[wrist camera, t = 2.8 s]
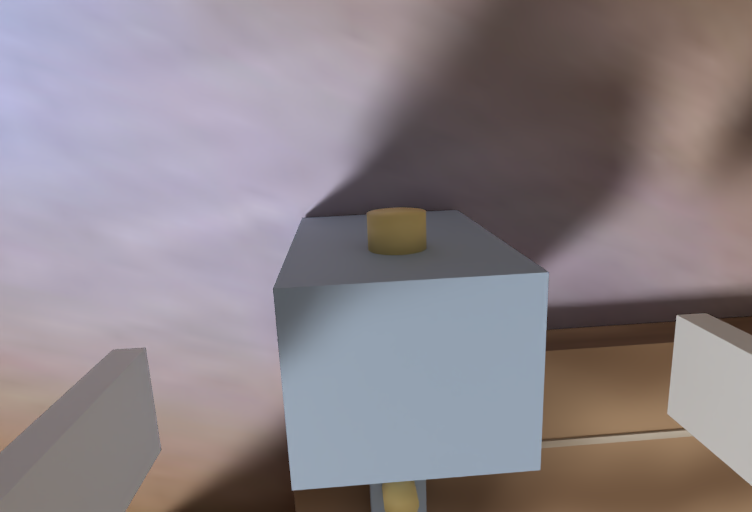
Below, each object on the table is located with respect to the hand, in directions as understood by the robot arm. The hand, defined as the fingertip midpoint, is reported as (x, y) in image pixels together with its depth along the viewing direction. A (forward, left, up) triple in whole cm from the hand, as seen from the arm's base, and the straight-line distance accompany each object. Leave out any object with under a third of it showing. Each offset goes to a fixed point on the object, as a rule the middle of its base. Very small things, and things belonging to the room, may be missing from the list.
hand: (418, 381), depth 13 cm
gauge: (+5, 0, -8) cm, 9 cm away
